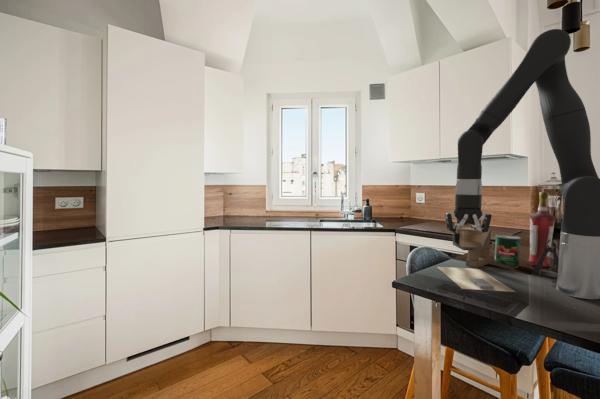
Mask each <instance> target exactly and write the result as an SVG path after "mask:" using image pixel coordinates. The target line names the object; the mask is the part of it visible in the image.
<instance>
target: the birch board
mask: <svg viewBox="0 0 600 399" xmlns="http://www.w3.org/2000/svg"><path fill="white" fill-rule="evenodd" d="M437 268H438V269H439V270H440V271H441V272H442V273H444V274H445V275H446V276H447V277H448V278H449V279H450V280H451V281H453V283H455V284H456V285H457V286H458V287H459V288H461V290H474V291H475V290H478V291H479V290H480V291H490V292H491V291H492V292H493V291H494V292H495V291H496V292H509V293H510V292H511V293H516V291H515V290H514V289H512V288H511V287H509V286H508V285H505V284H504V283H503V282H501V281H499V280H497V279H496V278H494V277H493V276H491V275H489V274H488V273H486V271H483V270H482V269H480V268H473V267H469V268H468V267H467V268H466V267H451V266H450V267H449V266H448V267H447V266H437ZM471 278H472V279H483V280H485V281H486V282H488V283H489V284H491V285H492V286H494V289H480V288H479V287H478V286H476V284H474V283H472V282H471Z"/></svg>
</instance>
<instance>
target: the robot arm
mask: <svg viewBox="0 0 600 399" xmlns="http://www.w3.org/2000/svg"><path fill="white" fill-rule="evenodd" d="M571 41H572V39H571V36H570V34H569V33H568V32H567V31H565V30H564V29H561V28H553V29H549V30H546V31H544V32H542V33H540V34H539V35H538V36H536V37H535V39H534V40H533V41H532V43H531V44H530V46H529V49H528V50H527V52H526V54H525V56H524V57H523V59H522V60H521V62H520V63H519V64H518V66H517V67H516V69H515V70H514V72H513V73H512V74H511V76H510V77H509V78H508V79H507V80H506V81H505V83H504V84H503V85H502V86H501V87H500V89H499V90H498V91H497V92H496V93H495V94H494V95H493V97H492V98H491V99H490V101H488V103H487V104H486V105H485V106H484V107H483V108H482V110H481V111H480V112H479V114H478V115H477V117H476V119H475V121H473V123H472V124H471V125H470V126H469V127H468V129H467V130H465V131H464V132H462V133H461V134H460V135H459V137H458V139H457V168H456V182H455V191H454V193H455V195H454V196H455V200H454V202H455V204H454V211H453V212H445V213H444V218H445V224H446V229H447V231H449V232H452V243H453V242H454V243H455V244H456V245H459V236H460V234H459V232H460V230H461V228H462V227H463V228H464V225H469V224H472V226H473V228H474V229H476V230H479V231H482V232H483V233H484V232H488V229H490V224H491V220H492V217H493V216H492V214H490V213H487V212H486V213H485V212H483V211H482V204H483V203H482V200H483V196H482V195H483V184H482V183H483V182H482V177H483V176H482V172H483V171H482V170H483V169H482V168H483V166H482V155H483V150H484V149H483V148H484V145H485V143H486V142H487V141H488V140H489V138H490V137H491V136H492V135H493V133H494V132H495V131H496V130H497V129H498V128H499V127H500V126H501V125H502V124H503V122H504V121H505V120H506V119H507V118H508V117H509V116H510V114H512V113H513V111H514V109H516V107H517V106H518V104H519V103H520V102H521V100H522V99H523V97H524V96H525V95H526V94H527V92H528V91H529V89H531V87H532V86H533V85H534V84H535V85H536V88H537V92H538V97H539V105H540V107H541V108H540V110H541V114H542V119H543V120H542V121H543V123H544V126H545V128H544V129H545V132H546V134H547V137H548V141H549V144H550V146H551V149H552V151H553V154H554V156H555V159H556V161H557V164H558V169H559V175H560V181H561V192H562V193H561V194H562V197H563V200H564V205H563V214H562V220H561V223H560V237H559V238H560V239H559V248H558V249H559V250H558V253H559V262H558V272H557V274H558V275H557V279H556V290H557V291H559V292H561V293H563V294H565V295H566V296H569V297H573V298H579V299H582V300H583V299H586V300H600V177H599V175H598V173H597V170H596V169H595V168H596V167H595V165H594V163H593V158H592V151H591V150H592V148H591V147H592V146H591V145H592V144H591V143H592V140H591V126H590V125H591V124H590V122H589V118H588V114H587V110H586V107H585V105H584V102H583V100H582V98H581V97H580V95H579V93H577V90H575V88H574V87H573V86H572V83H571V82H570V79H569V76H568V72H567V66H566V56H567V55H568V53H569V51H570V49H571V48H570V47H571V45H572V42H571ZM454 217H455V219H456V221H455V224H453V219H454ZM478 220H482V221H481V227H480V224H479V221H478ZM453 227H454V228H453Z"/></svg>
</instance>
